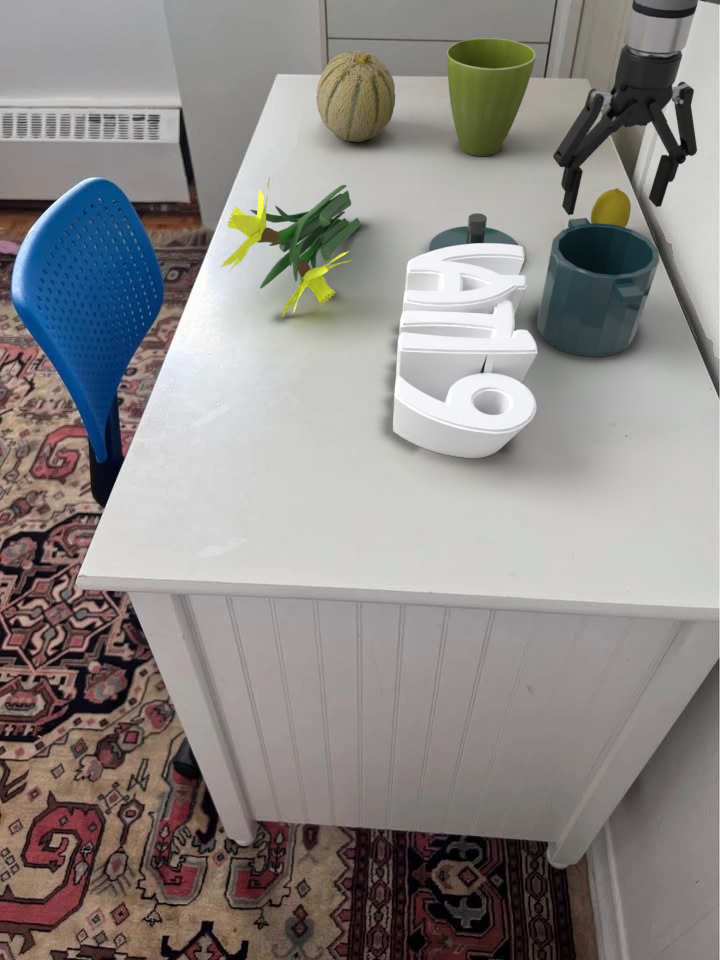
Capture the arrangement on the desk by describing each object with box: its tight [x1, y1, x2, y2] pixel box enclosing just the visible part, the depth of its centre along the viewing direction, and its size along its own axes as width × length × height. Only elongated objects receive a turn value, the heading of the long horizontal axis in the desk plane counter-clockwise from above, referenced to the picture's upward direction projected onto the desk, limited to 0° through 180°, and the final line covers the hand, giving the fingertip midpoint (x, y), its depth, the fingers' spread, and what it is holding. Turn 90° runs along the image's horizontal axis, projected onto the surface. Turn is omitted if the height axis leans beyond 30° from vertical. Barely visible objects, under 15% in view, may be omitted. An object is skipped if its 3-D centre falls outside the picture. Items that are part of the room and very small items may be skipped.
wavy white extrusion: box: [392, 243, 538, 459], centre depth 86 cm, size 35×16×10 cm, turn 171°
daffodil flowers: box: [219, 176, 362, 318], centre depth 100 cm, size 17×15×35 cm
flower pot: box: [446, 37, 537, 157], centre depth 127 cm, size 15×15×16 cm
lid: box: [428, 212, 520, 252], centre depth 106 cm, size 14×14×6 cm
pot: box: [536, 217, 660, 358], centre depth 92 cm, size 13×18×12 cm
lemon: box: [590, 188, 632, 228], centre depth 108 cm, size 6×6×8 cm
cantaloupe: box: [315, 50, 396, 143], centre depth 132 cm, size 15×15×15 cm
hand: (611, 206), depth 107 cm, fingers open, 13 cm apart
